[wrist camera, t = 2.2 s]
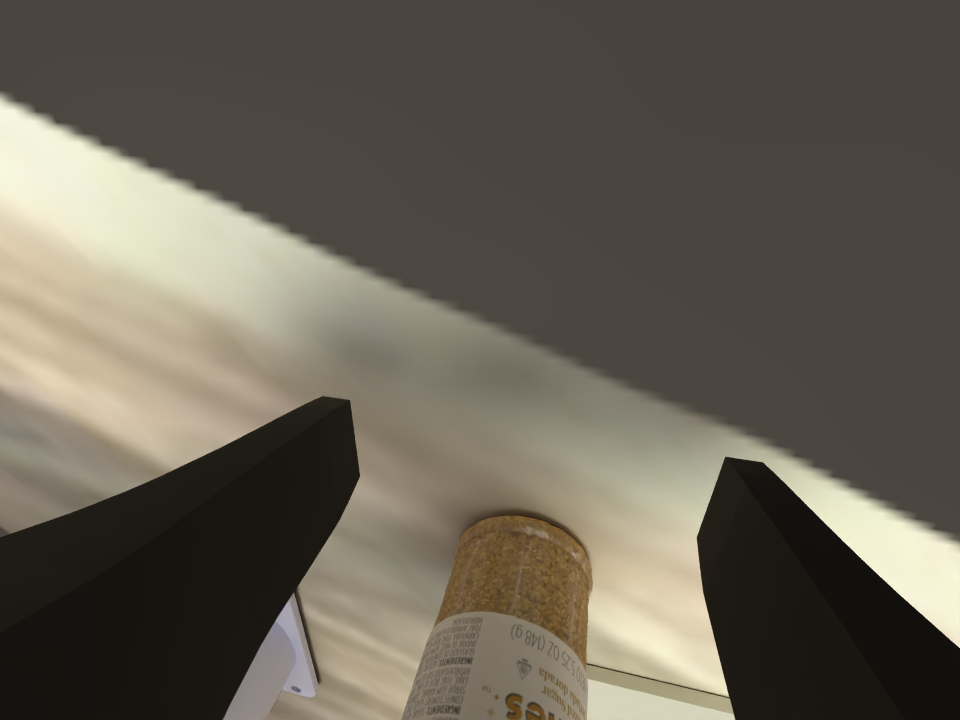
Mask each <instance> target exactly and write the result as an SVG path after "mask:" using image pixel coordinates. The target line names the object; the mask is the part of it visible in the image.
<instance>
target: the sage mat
mask: <svg viewBox="0 0 960 720" xmlns="http://www.w3.org/2000/svg"><path fill="white" fill-rule="evenodd" d="M586 674H587V680H588V707H587V720H735V717H734V713H733V709H732V705H731V702H730V699H729V698H725V697H721V696H717V695H713V694H708V693H704V692H700V691H696V690H692V689H688V688H683V687H679V686H675V685H671V684H667V683H662V682H658V681H654V680H650V679H646V678H641V677H637V676H633V675H629V674H625V673H620V672H616V671H612V670H608V669H604V668H599V667H595V666H591V665H587V664H586Z"/></svg>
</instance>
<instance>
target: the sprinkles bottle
mask: <svg viewBox="0 0 960 720" xmlns="http://www.w3.org/2000/svg"><path fill="white" fill-rule="evenodd" d="M592 585H593V581H592V574H591V567H590V562H589V560H588V558H587V556H586V554H585V552H584V549H583V548H582V547H581V546H580V545H579V544H578V543H577V542H576V541H575V540H574V539H573V538H572V537H570V536H569V535H568V534H567V533H565V532H564V531H562V530H561V529H559V528H557V527H554V526H551V525H550V524H549V523H547V522H544V521H541V520H538V519H533V518H528V517H523V516H513V515H509V516H498V517H495V518H488V519H484V520H482V521H480V522H478V523H477V524H475V525H474V526H472V527H470V528H469V529H468V530H466V531H465V532H464V533H463V535H462V536H461V537H460V539H459V541H458V543H457V545H456V549H455V563H454V567H453V570H452V574H451V576H450V579H449V582H448V585H447V588H446V592H445V595H444V599H443V602H442V605H441V608H440V612H439V615H438V617H437V620H436V622H435V625H434V628H433V630H432V631H431V633H430V636H429V638H428V641H427V644H426V647H425V650H424V653H423V656H422V659H421V662H420V665H419V668H418V671H417V674H416V677H415V680H414V683H413V686H412V689H411V692H410V695H409V698H408V701H407V704H406V707H405V710H404V714H403V717H402V720H587V707H588V680H587V674H586V660H587V653H586V645H587V628H588V627H587V623H588V602H589V596H590V594H591V591H592Z"/></svg>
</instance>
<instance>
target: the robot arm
mask: <svg viewBox="0 0 960 720" xmlns="http://www.w3.org/2000/svg"><path fill="white" fill-rule="evenodd" d="M359 477H360V472H359V465H358V457H357V449H356V442H355V434H354V427H353V419H352V412H351V404H350V400H345V399H338V398H331V397H325V396H322V397H320V398H318V399H315V400H313V401H311V402H309V403H307V404H305V405H303V406H301V407H299V408H297V409H295V410H293V411H291V412H289V413H287V414H285V415H283V416H281V417H279V418H277V419H275V420H273V421H271V422H270V423H268V424H266V425H264V426H262V427H260V428H258V429H256V430H254V431H252V432H250V433H248V434H246V435H244V436H243V437H241V438H239V439H237V440H235V441H233V442H231V443H229V444H227V445H225V446H223V447H221V448H219V449H217V450H215V451H213V452H211V453H209V454H207V455H204V456H202V457H200V458H198V459H196V460H194V461H192V462H190V463H188V464H186V465H183V466H181V467H179V468H177V469H175V470H173V471H171V472H169V473H167V474H165V475H162V476H160V477H158V478H156V479H154V480H151V481H149V482H147V483H144V484H142V485H140V486H137V487H135V488H133V489H130V490H128V491H126V492H123V493H121V494H118V495H116V496H113V497H111V498H108V499H106V500H103V501H101V502H98V503H96V504H93V505H91V506H88V507H86V508H83V509H80V510H78V511H75V512H72V513H70V514H67V515H64V516H61V517H58V518H55V519H52V520H50V521H47V522H44V523H41V524H38V525H35V526H32V527H29V528H26V529H24V530H21V531H18V532H15V533H12V534H9V535H6V536H3V537H0V720H265V719H266V717H267V716H268V714H269V712H270V710H271V708H272V706H273V705H274V703H275V701H276V699H277V697H278V695H279V694H280V692H281V690H284V691H287V692H291V693H295V694H298V695H302V696H305V697H314V696H315V695H316V693H317V691H318V689H319V686H318V682H317V678H316V674H315V670H314V667H313V663H312V659H311V655H310V652H309V648H308V644H307V640H306V636H305V633H304V629H303V625H302V621H301V617H300V614H299V610H298V606H297V602H296V598H295V595H294V591H295V590H296V588H297V587H298V585H299V583H300V582H301V580H302V579H303V577H304V576H305V574H306V572H307V571H308V569H309V568H310V566H311V565H312V563H313V562H314V560H315V558H316V557H317V555H318V554H319V552H320V551H321V549H322V547H323V546H324V544H325V543H326V541H327V539H328V538H329V536H330V535H331V533H332V531H333V530H334V528H335V527H336V525H337V523H338V522H339V520H340V518H341V516H342V514H343V512H344V510H345V508H346V506H347V504H348V502H349V500H350V497H351V495H352V493H353V491H354V489H355V486H356V484H357V482H358V480H359ZM697 544H698V553H699V562H700V571H701V578H702V586H703V593H704V597H705V601H706V606H707V610H708V614H709V618H710V622H711V626H712V630H713V634H714V638H715V642H716V646H717V650H718V654H719V658H720V662H721V666H722V670H723V674H724V678H725V682H726V686H727V690H728V694H729V698H730V702H731V705H732V709H733V713H734V717H735V720H960V648H959V647H958V646H957V645H955V644H954V643H953V642H952V641H951V640H950V639H949V638H947V637H946V636H945V635H944V634H943V633H942V632H941V631H940V630H938V629H937V628H936V627H935V626H934V625H933V624H932V623H931V622H929V621H928V620H927V619H926V618H925V617H924V616H923V615H922V614H920V613H919V612H918V611H917V610H916V609H915V608H914V607H913V606H911V605H910V604H909V603H908V602H907V601H906V600H905V599H904V598H902V597H901V596H900V595H899V594H898V593H897V592H896V591H895V590H894V589H893V588H892V587H891V586H890V585H888V584H887V583H886V582H885V581H884V580H883V579H882V578H881V577H880V576H879V575H878V574H877V573H876V572H875V571H873V570H872V569H871V568H870V567H869V566H868V565H867V564H866V563H865V562H864V561H863V560H862V559H861V558H860V557H859V556H858V555H857V554H856V553H855V552H854V551H853V550H852V549H851V548H849V547H848V546H847V545H846V544H845V543H844V542H843V541H842V540H841V539H840V538H839V537H838V536H837V535H836V534H835V533H834V532H833V531H832V530H831V529H830V528H829V527H828V526H827V525H826V524H825V523H824V522H823V521H822V520H821V519H820V518H819V517H818V516H817V515H816V514H815V513H814V512H813V511H812V510H811V509H810V508H809V507H808V506H807V505H806V504H805V503H804V502H803V501H802V500H801V499H800V498H799V497H798V496H797V495H796V494H795V493H794V492H793V491H792V490H791V489H790V488H789V487H788V486H787V485H786V484H785V483H784V482H783V481H782V480H781V479H780V478H779V477H778V476H777V475H776V474H775V473H774V472H773V471H772V470H770V469H769V468H768V467H767V466H766V465H765V464H764V463H763V462H756V461H750V460H743V459H736V458H730V457H725V459H724V462H723V465H722V468H721V471H720V473H719V476H718V479H717V482H716V485H715V488H714V490H713V493H712V496H711V499H710V502H709V504H708V507H707V510H706V513H705V516H704V519H703V521H702V524H701V527H700V530H699V533H698V535H697Z"/></svg>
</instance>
